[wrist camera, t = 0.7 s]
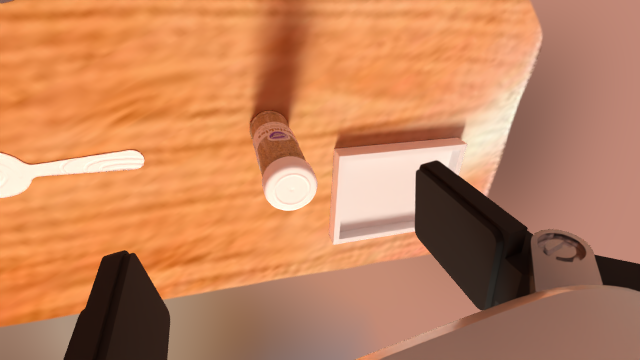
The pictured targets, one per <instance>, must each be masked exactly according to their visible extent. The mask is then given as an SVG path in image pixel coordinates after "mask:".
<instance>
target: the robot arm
mask: <svg viewBox="0 0 640 360" xmlns="http://www.w3.org/2000/svg"><path fill="white" fill-rule="evenodd" d="M415 233H416V235H417V237H418V239H419V240H420V241H421V242H422V243H423V245H424V246H425V247H426V248H427V249H428V250H429V252H430V253H431V254H432V255H433V256H434V258H435V259H436V260H437V261H438V262H439V263H440V265H441V266H442V267H443V268H444V269H445V270H446V272H447V273H448V274H449V275H450V276H451V278H452V279H453V280H454V281H455V282H456V283H457V285H458V286H459V287H460V288H461V289H462V290H463V292H464V293H465V294H466V295H467V296H468V297H469V299H470V300H471V301H472V302H473V303H474V305H475V306H476V307H477V308H478V309H480V310H483V311H481V312H478V313H475V314H473V315H470V316H467V317H464V318H462V319H459V320H457V321H454V322H452V323H449V324H446V325H444V326H441V327H438V328H436V329H433V330H431V331H428V332H425V333H423V334H420V335H417V336H415V337H412V338H410V339H407V340H404V341H402V342H399V343H396V344H394V345H391V346H389V347H386V348H384V349H381V350H378V351H376V352H373V353H371V354H368V355H366V356H363V357H360V358H358V359H355V360H640V264H636V263H632V262H627V261H622V260H617V259H613V258H608V257H602V256H598V255H594V253H593V250H592V249H591V247H590V245H588V244H587V243H586V242H585V241H584V240H583V239H581V238H579V237H578V236H576V235H574V234H571V233H569V232H565V231H561V230H553V229H552V230H551V229H548V230H541V231H539V232H537V233H535V234H534V235H533V234H531V233H530V232H529V231H527V227H526V226H525V225H523V224H522V223H521V222H519V221H518V220H517V219H515V218H514V217H512V216H511V215H510V214H509V213H507V212H506V211H504V210H503V209H502V208H501V207H499V206H498V205H497V204H495V203H494V202H493V201H491V200H490V199H489V198H487V197H486V196H485V195H483V194H482V193H481V192H480V191H478V190H477V189H476V188H474V187H473V186H472V185H470V184H469V183H468V182H466V181H465V180H464V179H462V178H461V177H460V176H458V175H457V174H456V173H454V172H453V171H452V170H450V169H449V168H448V167H446V166H445V165H444V164H442V163H441V162H440V161H438V160H435V161H431V162H428V163H424V164H421V165H420V167H419V169H418V170H417V171H416V181H415ZM169 329H170V315H169V311H168V309H167V307H166V306H165V304H164V302H163V300H162V298H161V297H160V295H159V293H158V292H157V290H156V288H155V286H154V285H153V283H152V281H151V280H150V278H149V276H148V274H147V273H146V271H145V269H144V268H143V266H142V264H141V262H140V261H139V259H138V257H137V256H136V254H135V253H131V254H129V253H128V252H127V251H125V250H124V251H120V252H117V253H113V254H110V255H107V256H104V257H103V258H102V261H101V263H100V266H99V269H98V272H97V275H96V278H95V281H94V284H93V287H92V290H91V293H90V296H89V299H88V302H87V305H86V308H85V309H84V310H83V311H82V312H81V313H80V315H79V317H78V320H77V323H76V326H75V328H74V331H73V334H72V337H71V340H70V342H69V345H68V348H67V351H66V354H65V357H64V360H167V353H168V342H169Z"/></svg>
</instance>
